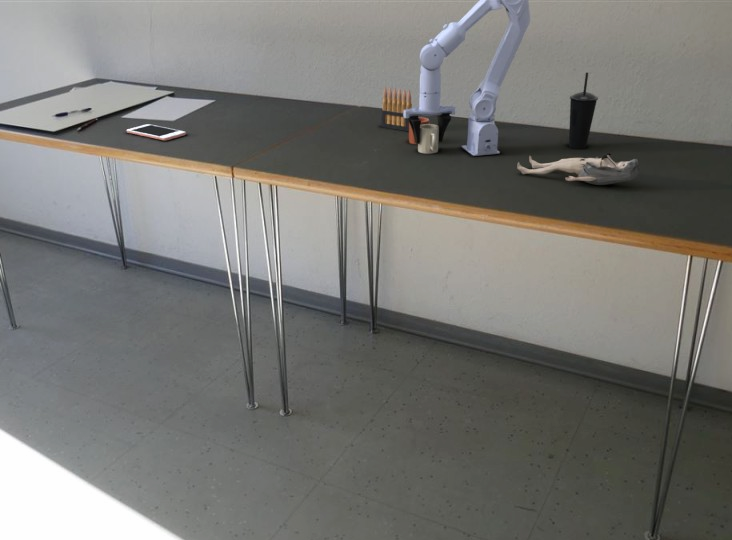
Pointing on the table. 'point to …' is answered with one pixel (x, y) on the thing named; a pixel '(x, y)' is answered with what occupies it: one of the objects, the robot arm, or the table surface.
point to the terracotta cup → (411, 136)
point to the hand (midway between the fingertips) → (428, 142)
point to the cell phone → (156, 132)
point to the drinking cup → (581, 117)
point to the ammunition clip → (395, 110)
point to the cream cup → (428, 138)
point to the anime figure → (589, 169)
